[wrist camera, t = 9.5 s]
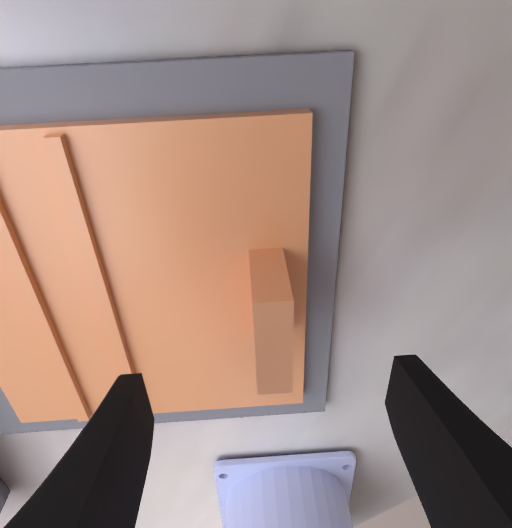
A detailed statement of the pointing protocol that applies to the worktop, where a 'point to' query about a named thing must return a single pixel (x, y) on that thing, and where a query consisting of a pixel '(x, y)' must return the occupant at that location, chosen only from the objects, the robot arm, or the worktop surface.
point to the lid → (154, 261)
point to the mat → (213, 102)
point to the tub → (3, 494)
